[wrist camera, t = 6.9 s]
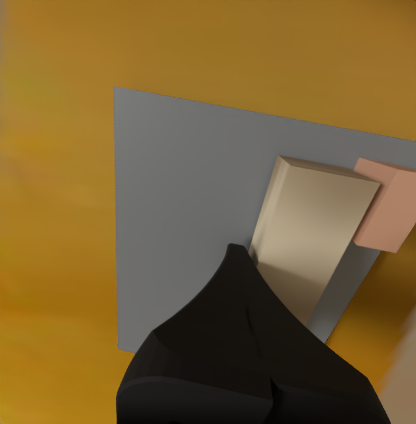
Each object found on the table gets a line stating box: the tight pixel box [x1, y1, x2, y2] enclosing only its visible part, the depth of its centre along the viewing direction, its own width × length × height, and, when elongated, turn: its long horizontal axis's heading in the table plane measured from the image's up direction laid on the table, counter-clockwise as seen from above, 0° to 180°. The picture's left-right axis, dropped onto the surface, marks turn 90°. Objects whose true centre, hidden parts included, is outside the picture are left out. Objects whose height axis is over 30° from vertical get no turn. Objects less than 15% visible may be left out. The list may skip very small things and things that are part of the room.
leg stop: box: [351, 157, 416, 253], centre depth 9 cm, size 3×2×2 cm, turn 170°
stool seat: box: [114, 86, 416, 353], centre depth 13 cm, size 18×14×1 cm
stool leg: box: [248, 155, 381, 326], centre depth 11 cm, size 16×3×2 cm, turn 170°
